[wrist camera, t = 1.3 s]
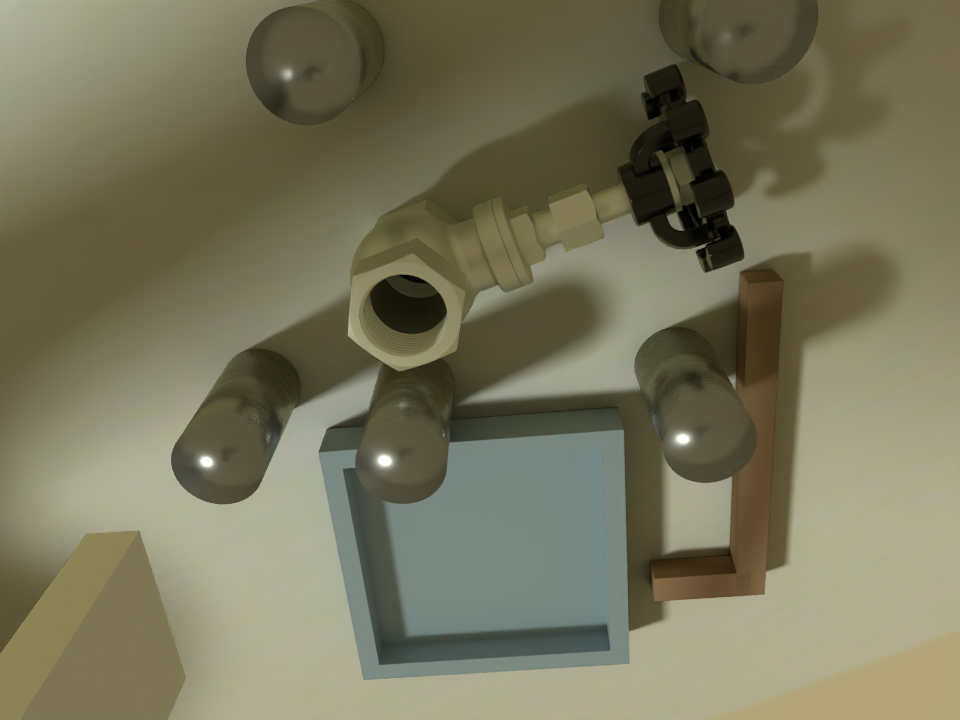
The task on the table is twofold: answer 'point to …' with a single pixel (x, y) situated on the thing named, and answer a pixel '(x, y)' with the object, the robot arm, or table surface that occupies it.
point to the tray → (490, 550)
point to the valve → (535, 234)
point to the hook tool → (752, 482)
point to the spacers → (429, 387)
